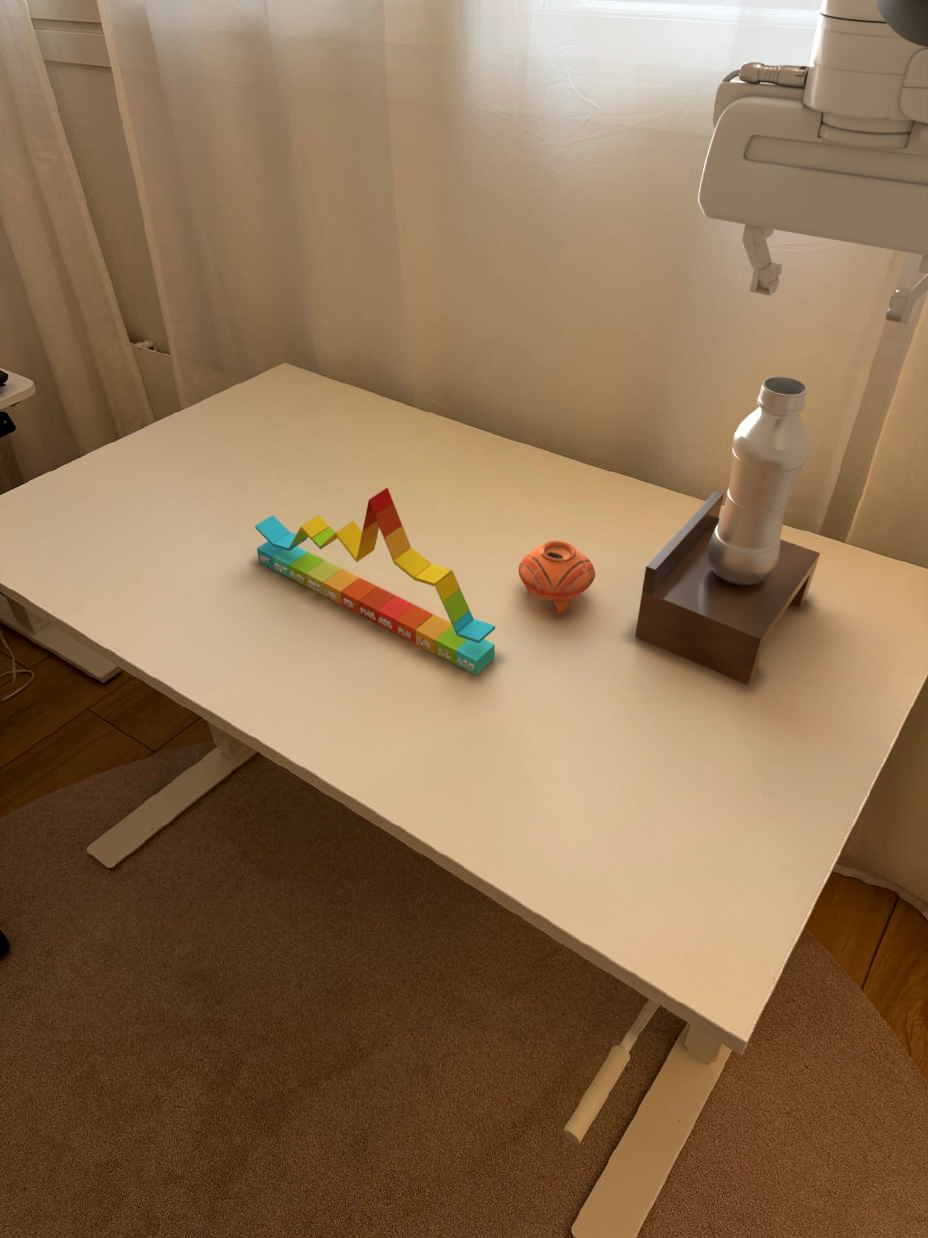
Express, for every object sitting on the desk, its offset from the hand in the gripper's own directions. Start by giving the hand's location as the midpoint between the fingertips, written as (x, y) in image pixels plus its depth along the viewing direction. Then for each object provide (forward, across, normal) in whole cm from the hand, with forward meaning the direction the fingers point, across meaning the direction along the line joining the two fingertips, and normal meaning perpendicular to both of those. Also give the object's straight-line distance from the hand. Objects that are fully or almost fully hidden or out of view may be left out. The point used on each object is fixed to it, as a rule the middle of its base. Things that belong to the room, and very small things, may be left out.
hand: (828, 305), depth 62 cm
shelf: (+36, -5, +8) cm, 38 cm away
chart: (+36, -36, -12) cm, 52 cm away
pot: (+36, -21, +1) cm, 42 cm away
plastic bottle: (+30, -4, +8) cm, 32 cm away
